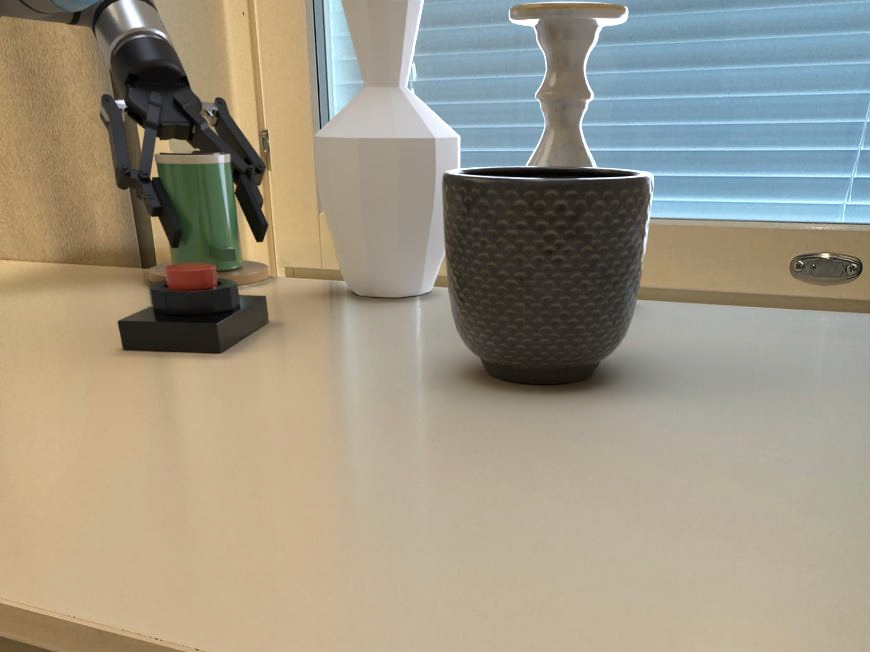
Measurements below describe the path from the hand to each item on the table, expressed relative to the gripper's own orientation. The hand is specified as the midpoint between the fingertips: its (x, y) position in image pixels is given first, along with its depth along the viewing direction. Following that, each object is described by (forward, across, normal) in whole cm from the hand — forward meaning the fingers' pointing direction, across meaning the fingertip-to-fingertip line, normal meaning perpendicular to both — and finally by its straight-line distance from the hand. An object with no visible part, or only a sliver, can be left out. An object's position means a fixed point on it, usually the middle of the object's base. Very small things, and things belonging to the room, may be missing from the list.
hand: (221, 236), depth 95 cm
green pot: (+1, +1, -3) cm, 4 cm away
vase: (+14, -12, +8) cm, 20 cm away
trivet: (+1, +1, -6) cm, 6 cm away
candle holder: (+24, -22, +18) cm, 37 cm away
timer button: (+18, +13, +16) cm, 27 cm away
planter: (+38, -3, +32) cm, 50 cm away
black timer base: (+20, +13, +14) cm, 27 cm away
